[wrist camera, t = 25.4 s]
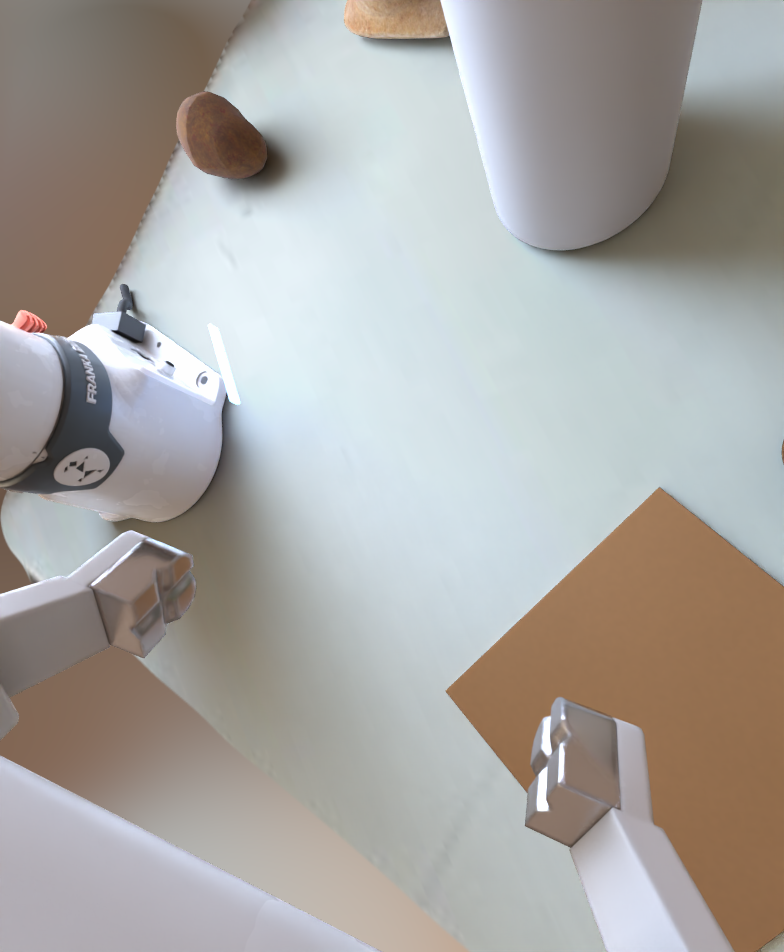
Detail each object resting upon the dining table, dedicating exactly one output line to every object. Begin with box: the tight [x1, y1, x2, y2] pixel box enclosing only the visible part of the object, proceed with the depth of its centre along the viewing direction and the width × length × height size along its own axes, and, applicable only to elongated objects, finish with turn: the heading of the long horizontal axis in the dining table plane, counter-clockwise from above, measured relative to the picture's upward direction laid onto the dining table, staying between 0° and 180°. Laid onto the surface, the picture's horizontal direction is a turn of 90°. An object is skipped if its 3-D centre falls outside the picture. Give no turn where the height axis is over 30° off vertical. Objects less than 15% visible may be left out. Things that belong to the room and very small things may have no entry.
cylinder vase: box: [440, 0, 702, 250], centre depth 26 cm, size 12×12×25 cm
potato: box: [176, 91, 267, 179], centre depth 49 cm, size 7×10×7 cm
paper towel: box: [446, 487, 784, 952], centre depth 29 cm, size 20×20×1 cm
